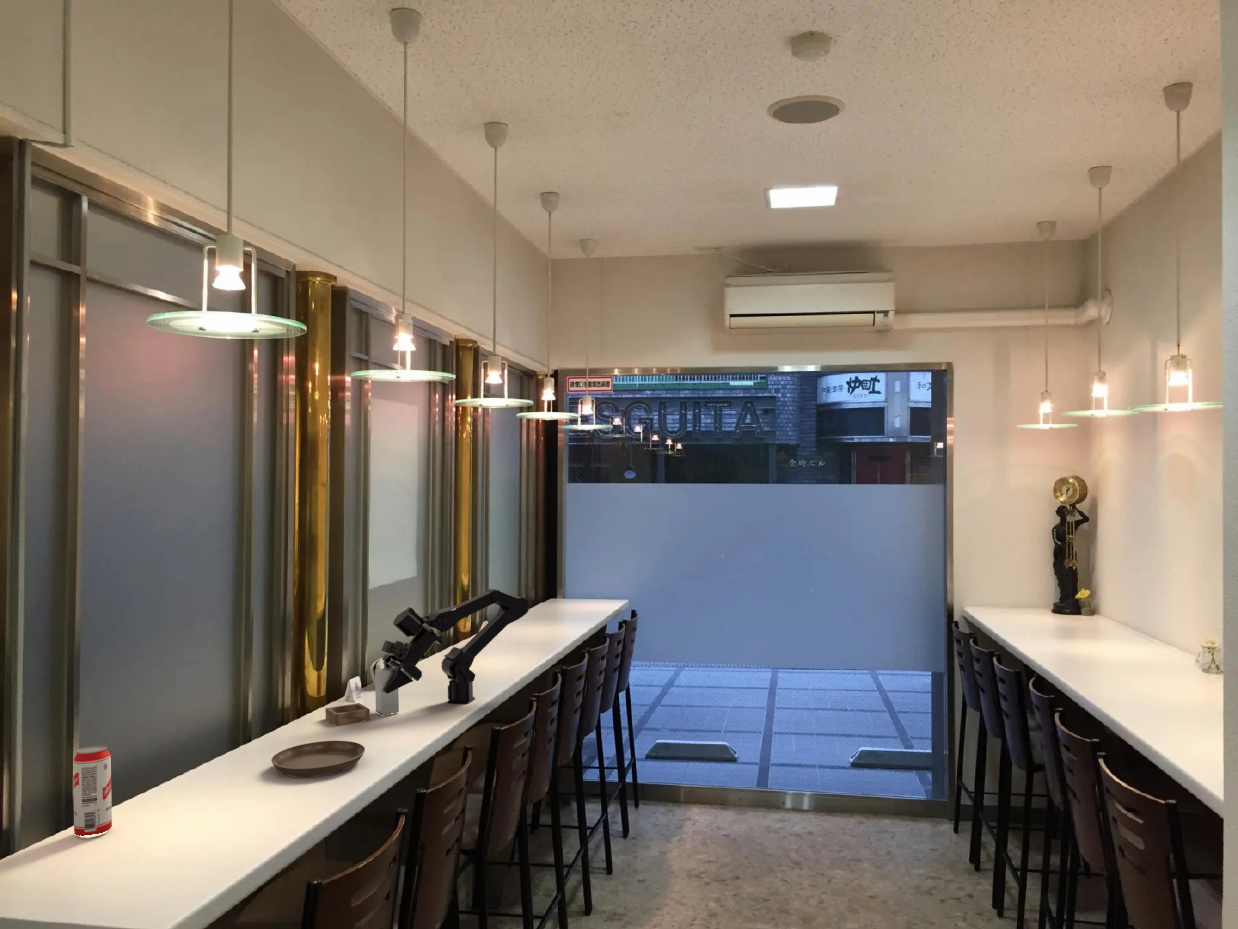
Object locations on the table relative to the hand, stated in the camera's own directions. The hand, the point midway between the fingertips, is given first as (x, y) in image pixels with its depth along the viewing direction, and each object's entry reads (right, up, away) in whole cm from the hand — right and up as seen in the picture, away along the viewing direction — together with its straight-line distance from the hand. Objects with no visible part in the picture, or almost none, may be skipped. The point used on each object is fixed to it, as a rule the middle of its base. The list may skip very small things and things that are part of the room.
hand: (382, 690), depth 265 cm
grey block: (+1, -7, +1) cm, 7 cm away
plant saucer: (-2, -6, -49) cm, 49 cm away
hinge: (-8, -8, +41) cm, 43 cm away
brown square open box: (-8, -7, -6) cm, 12 cm away
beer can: (-32, -6, -88) cm, 94 cm away
